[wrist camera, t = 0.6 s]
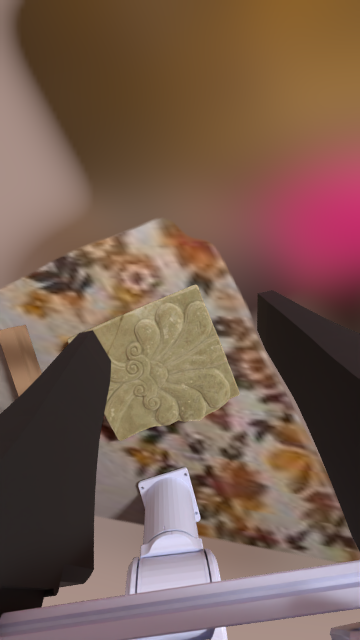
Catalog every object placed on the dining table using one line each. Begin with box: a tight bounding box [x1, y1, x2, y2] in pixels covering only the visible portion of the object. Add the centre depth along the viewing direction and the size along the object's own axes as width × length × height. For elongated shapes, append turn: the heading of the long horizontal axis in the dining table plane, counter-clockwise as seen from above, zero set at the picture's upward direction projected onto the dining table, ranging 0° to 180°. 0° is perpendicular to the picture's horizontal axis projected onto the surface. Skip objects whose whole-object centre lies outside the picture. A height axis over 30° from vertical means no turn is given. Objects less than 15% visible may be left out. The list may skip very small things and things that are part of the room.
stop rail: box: [0, 325, 42, 396], centre depth 32 cm, size 22×2×3 cm, turn 14°
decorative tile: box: [68, 285, 240, 441], centre depth 33 cm, size 19×20×4 cm
